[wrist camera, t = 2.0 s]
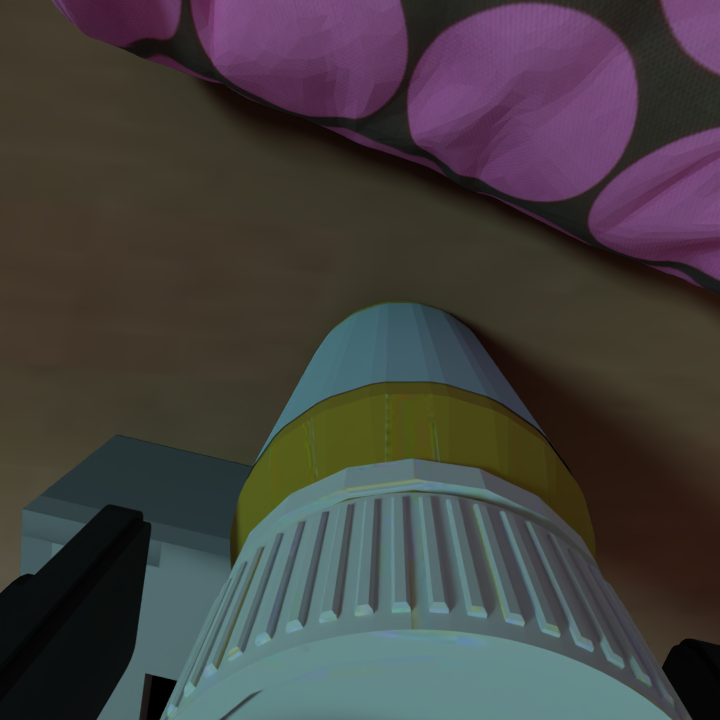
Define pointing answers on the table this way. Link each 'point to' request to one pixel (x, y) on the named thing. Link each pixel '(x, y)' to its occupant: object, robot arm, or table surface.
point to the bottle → (414, 553)
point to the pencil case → (486, 98)
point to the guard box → (166, 549)
